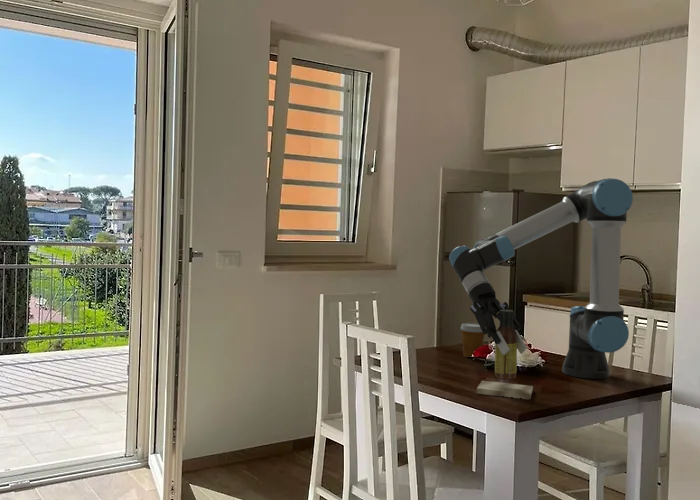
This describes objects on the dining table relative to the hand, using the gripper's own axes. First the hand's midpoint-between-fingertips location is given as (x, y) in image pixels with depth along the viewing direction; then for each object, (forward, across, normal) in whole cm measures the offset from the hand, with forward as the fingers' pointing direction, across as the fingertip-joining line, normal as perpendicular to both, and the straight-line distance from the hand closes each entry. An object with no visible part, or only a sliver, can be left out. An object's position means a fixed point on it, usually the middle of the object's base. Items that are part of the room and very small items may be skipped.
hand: (515, 351), depth 191 cm
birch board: (+7, 0, -11) cm, 13 cm away
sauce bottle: (+4, 0, -9) cm, 9 cm away
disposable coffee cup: (-26, -28, -44) cm, 59 cm away
